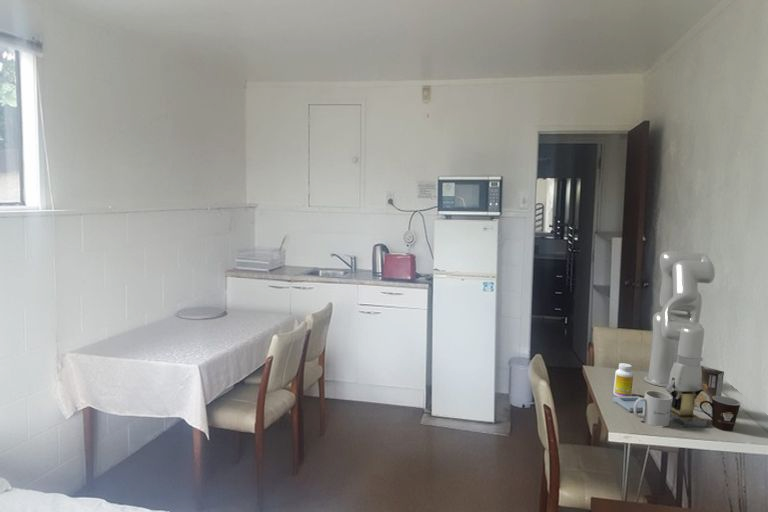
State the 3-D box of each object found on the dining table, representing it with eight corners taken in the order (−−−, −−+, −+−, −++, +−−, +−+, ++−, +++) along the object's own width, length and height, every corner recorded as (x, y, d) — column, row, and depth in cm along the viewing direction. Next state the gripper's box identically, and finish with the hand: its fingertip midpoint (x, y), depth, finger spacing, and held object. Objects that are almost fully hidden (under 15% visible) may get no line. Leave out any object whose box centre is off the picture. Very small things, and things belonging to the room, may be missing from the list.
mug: (664, 418, 199) (667, 392, 198) (671, 428, 191) (675, 401, 190) (628, 414, 202) (631, 388, 200) (634, 423, 193) (637, 396, 192)
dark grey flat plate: (665, 402, 215) (665, 397, 215) (706, 427, 194) (706, 421, 193) (644, 403, 214) (644, 398, 213) (683, 427, 192) (684, 421, 192)
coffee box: (720, 412, 209) (725, 371, 207) (713, 415, 205) (719, 374, 203) (694, 404, 216) (699, 364, 214) (687, 407, 212) (692, 367, 210)
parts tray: (638, 400, 216) (638, 396, 216) (656, 411, 205) (656, 407, 205) (612, 400, 214) (613, 396, 214) (629, 412, 203) (630, 407, 203)
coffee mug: (738, 427, 195) (742, 400, 193) (734, 434, 188) (738, 407, 187) (702, 417, 202) (705, 391, 201) (696, 424, 196) (700, 397, 195)
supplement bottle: (632, 399, 217) (636, 368, 215) (614, 397, 218) (618, 366, 217) (628, 393, 223) (632, 363, 222) (611, 391, 225) (614, 361, 223)
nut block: (682, 411, 203) (685, 388, 202) (693, 417, 198) (696, 394, 197) (669, 411, 202) (672, 388, 201) (679, 418, 197) (683, 394, 196)
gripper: (701, 357, 202) (695, 403, 205) (660, 357, 199) (654, 404, 202) (717, 363, 195) (710, 412, 197) (674, 363, 192) (668, 413, 195)
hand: (682, 407), depth 200 cm, fingers closed on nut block, 5 cm apart
